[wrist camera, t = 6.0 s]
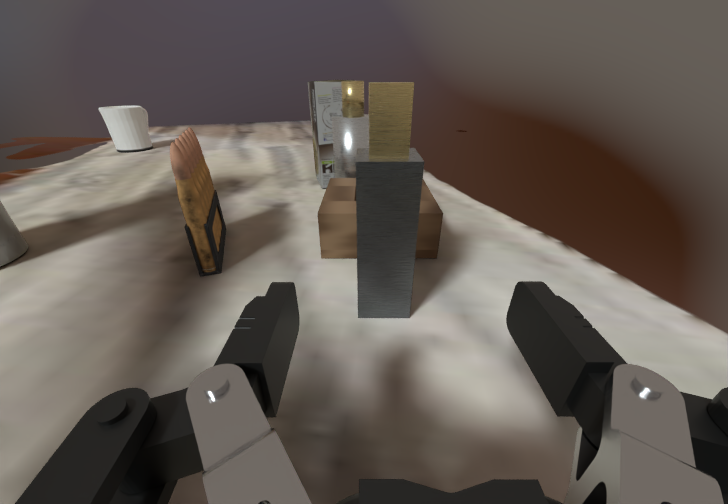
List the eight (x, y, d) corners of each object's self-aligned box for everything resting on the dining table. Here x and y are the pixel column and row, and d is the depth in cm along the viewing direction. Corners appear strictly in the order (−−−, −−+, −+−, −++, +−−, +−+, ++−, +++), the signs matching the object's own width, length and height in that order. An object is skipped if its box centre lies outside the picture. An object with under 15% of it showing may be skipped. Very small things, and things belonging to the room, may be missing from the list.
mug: (132, 153, 76) (115, 108, 71) (107, 151, 79) (89, 108, 73) (169, 146, 85) (156, 105, 80) (145, 144, 88) (132, 104, 82)
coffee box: (357, 186, 52) (356, 79, 44) (320, 189, 51) (312, 79, 43) (347, 172, 60) (344, 79, 52) (314, 175, 59) (306, 79, 51)
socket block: (321, 258, 31) (317, 213, 29) (332, 213, 42) (330, 177, 39) (436, 258, 31) (442, 213, 29) (418, 213, 42) (422, 177, 39)
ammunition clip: (210, 230, 37) (180, 126, 31) (226, 228, 38) (200, 125, 32) (199, 277, 28) (156, 144, 23) (221, 273, 29) (183, 143, 23)
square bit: (358, 317, 24) (354, 82, 16) (359, 287, 27) (356, 82, 19) (409, 317, 23) (431, 82, 16) (403, 287, 27) (419, 82, 19)
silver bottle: (334, 210, 43) (327, 81, 35) (337, 197, 48) (332, 80, 40) (373, 210, 43) (375, 80, 35) (373, 197, 48) (374, 80, 40)
